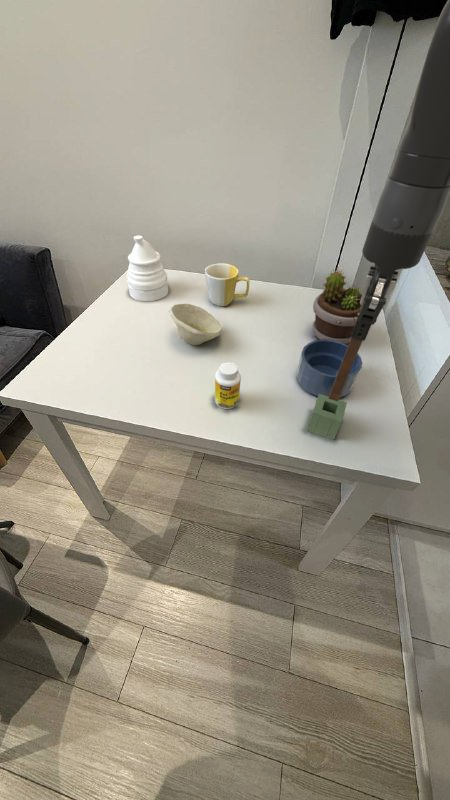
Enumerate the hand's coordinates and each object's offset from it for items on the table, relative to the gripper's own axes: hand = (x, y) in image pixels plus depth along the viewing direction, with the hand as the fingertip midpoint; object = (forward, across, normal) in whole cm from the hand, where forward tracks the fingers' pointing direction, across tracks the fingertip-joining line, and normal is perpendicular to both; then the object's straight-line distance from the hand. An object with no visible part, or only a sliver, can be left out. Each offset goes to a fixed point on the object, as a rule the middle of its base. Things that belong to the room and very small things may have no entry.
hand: (359, 334), depth 54 cm
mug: (+24, +38, +40) cm, 60 cm away
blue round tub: (+24, +14, +3) cm, 28 cm away
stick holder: (+24, 0, 0) cm, 24 cm away
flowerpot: (+24, +34, +5) cm, 42 cm away
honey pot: (+24, +32, +66) cm, 77 cm away
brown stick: (+15, 0, 0) cm, 15 cm away
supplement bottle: (+24, -2, +22) cm, 33 cm away
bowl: (+24, +16, +39) cm, 48 cm away
